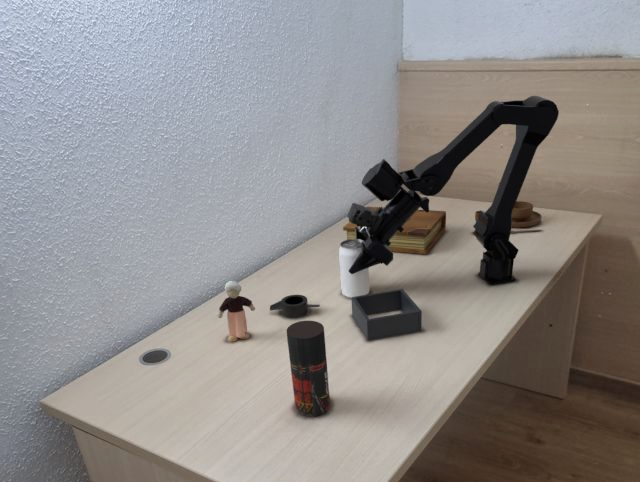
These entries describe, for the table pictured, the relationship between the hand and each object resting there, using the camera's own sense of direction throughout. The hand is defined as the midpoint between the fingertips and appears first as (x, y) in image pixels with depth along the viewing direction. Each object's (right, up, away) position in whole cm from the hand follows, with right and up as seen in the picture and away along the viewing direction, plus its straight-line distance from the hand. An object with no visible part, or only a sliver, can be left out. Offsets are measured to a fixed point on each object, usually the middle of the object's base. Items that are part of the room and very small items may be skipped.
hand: (348, 266), depth 138 cm
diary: (+15, +13, +31) cm, 37 cm away
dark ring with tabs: (-12, -11, -3) cm, 16 cm away
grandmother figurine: (-23, -16, -10) cm, 30 cm away
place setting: (+46, +18, +36) cm, 61 cm away
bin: (+7, -13, -10) cm, 18 cm away
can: (+2, -6, +4) cm, 7 cm away
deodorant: (-8, -29, -33) cm, 45 cm away
